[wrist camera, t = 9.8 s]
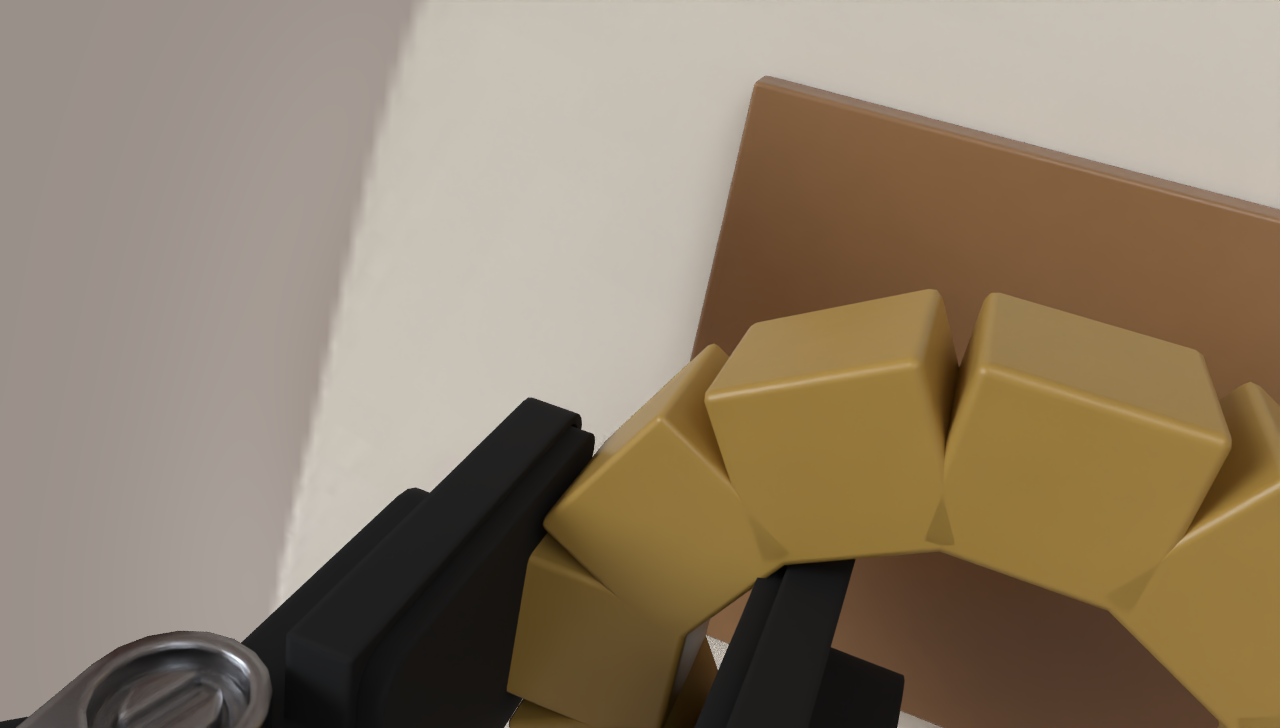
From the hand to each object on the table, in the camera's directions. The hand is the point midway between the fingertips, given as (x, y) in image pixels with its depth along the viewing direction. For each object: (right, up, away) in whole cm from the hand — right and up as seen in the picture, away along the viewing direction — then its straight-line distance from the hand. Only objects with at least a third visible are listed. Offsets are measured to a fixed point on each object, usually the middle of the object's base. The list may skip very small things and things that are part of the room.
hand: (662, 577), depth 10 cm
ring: (+3, -1, 0) cm, 3 cm away
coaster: (+4, +1, +3) cm, 5 cm away
